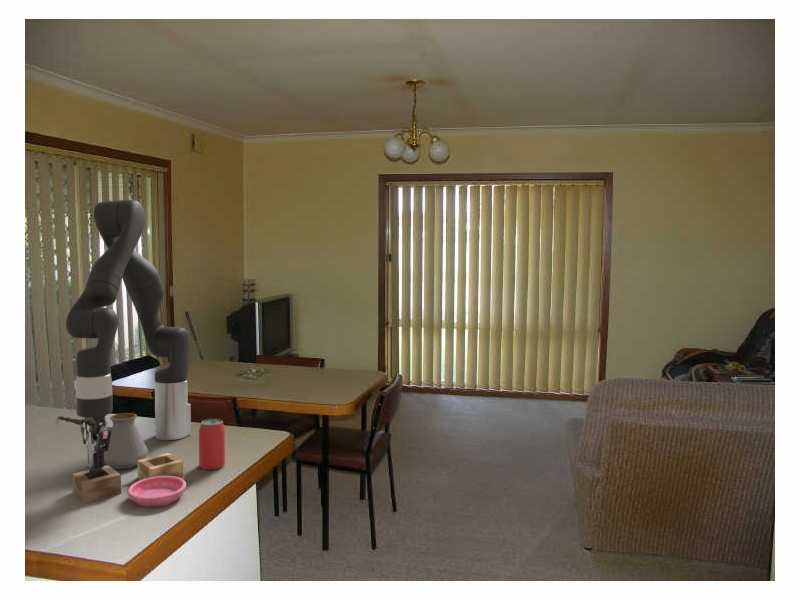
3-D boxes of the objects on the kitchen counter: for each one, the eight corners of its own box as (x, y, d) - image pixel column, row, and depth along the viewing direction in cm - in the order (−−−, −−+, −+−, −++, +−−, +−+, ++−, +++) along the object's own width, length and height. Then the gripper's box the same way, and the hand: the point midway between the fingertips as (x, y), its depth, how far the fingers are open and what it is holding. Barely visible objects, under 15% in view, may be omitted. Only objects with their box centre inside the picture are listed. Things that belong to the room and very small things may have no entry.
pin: (100, 475, 143) (99, 434, 142) (104, 478, 141) (103, 437, 140) (87, 478, 141) (86, 436, 140) (91, 482, 139) (90, 439, 138)
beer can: (230, 463, 162) (230, 419, 160) (214, 472, 155) (214, 426, 154) (209, 459, 164) (209, 416, 163) (193, 468, 158) (193, 423, 156)
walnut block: (108, 482, 147) (107, 465, 146) (121, 493, 141) (120, 474, 141) (72, 492, 141) (72, 473, 141) (84, 503, 136) (84, 483, 135)
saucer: (167, 513, 132) (167, 499, 132) (116, 507, 134) (116, 494, 134) (195, 490, 144) (195, 477, 144) (148, 485, 146) (148, 473, 146)
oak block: (168, 469, 156) (168, 452, 156) (183, 478, 151) (183, 461, 150) (137, 477, 150) (137, 460, 150) (151, 487, 145) (151, 469, 145)
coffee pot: (143, 453, 168) (142, 400, 166) (151, 466, 158) (151, 411, 157) (55, 467, 156) (53, 410, 154) (58, 482, 146) (57, 422, 145)
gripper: (123, 396, 137) (124, 470, 138) (100, 385, 146) (101, 454, 148) (87, 402, 131) (89, 479, 133) (66, 390, 141) (68, 461, 143)
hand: (96, 465), depth 141 cm, fingers closed on pin, 2 cm apart
